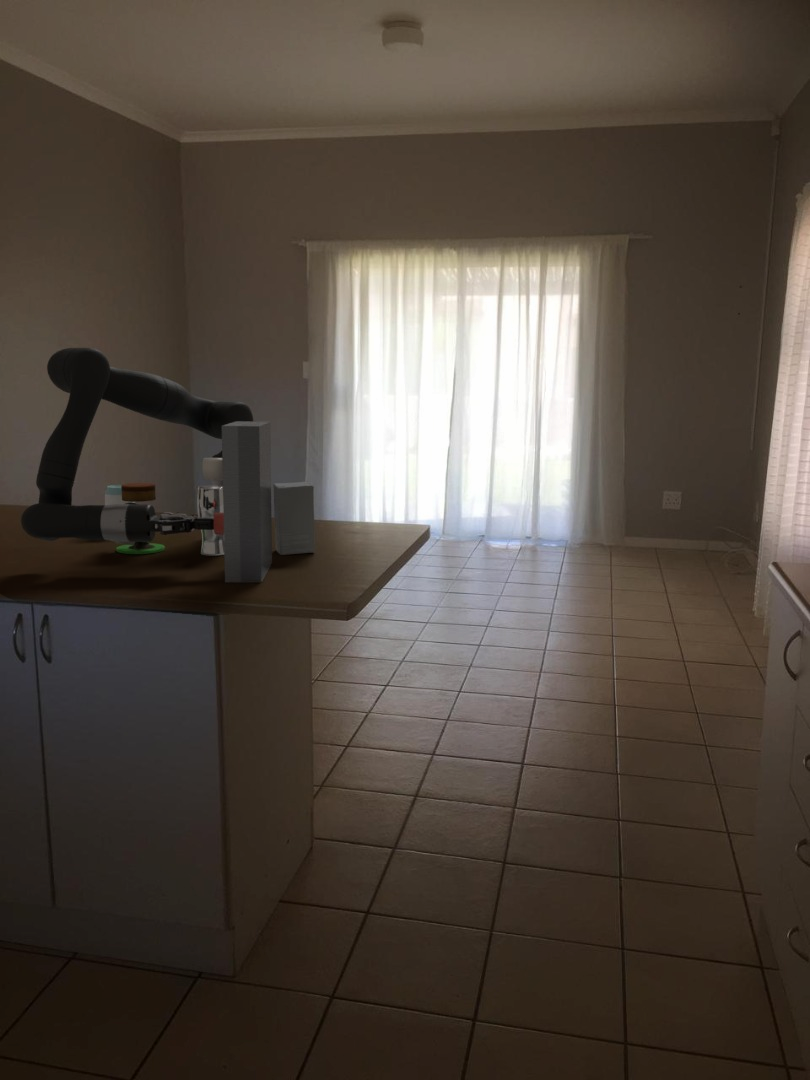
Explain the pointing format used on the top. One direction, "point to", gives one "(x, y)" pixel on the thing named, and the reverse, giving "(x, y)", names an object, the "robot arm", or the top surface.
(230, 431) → the tall grey block
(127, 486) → the mushroom figurine
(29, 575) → the top surface
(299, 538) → the skincare box
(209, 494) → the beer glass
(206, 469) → the white cylinder
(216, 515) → the red button
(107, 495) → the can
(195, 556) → the top surface
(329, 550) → the top surface
